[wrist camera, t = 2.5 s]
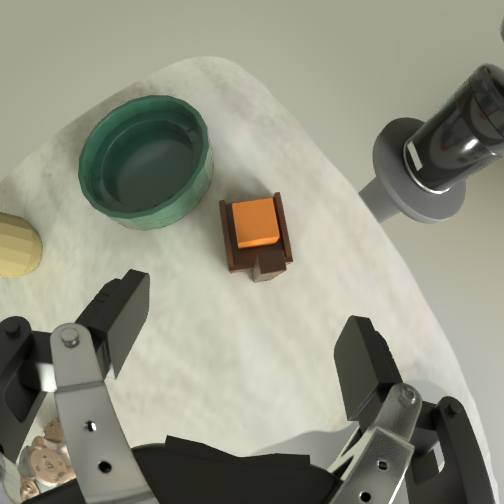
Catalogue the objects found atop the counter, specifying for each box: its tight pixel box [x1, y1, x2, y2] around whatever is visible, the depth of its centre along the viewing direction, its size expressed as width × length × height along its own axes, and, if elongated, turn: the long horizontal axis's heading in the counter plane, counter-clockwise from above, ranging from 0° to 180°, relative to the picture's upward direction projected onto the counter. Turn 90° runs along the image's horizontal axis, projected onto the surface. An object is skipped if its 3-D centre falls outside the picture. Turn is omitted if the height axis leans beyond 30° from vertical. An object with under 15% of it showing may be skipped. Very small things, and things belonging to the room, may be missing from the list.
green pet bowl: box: [78, 95, 213, 230], centre depth 30 cm, size 15×15×6 cm
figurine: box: [18, 419, 76, 501], centre depth 17 cm, size 9×8×20 cm
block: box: [232, 198, 280, 250], centre depth 30 cm, size 4×4×4 cm
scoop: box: [219, 192, 293, 282], centre depth 26 cm, size 9×7×12 cm
